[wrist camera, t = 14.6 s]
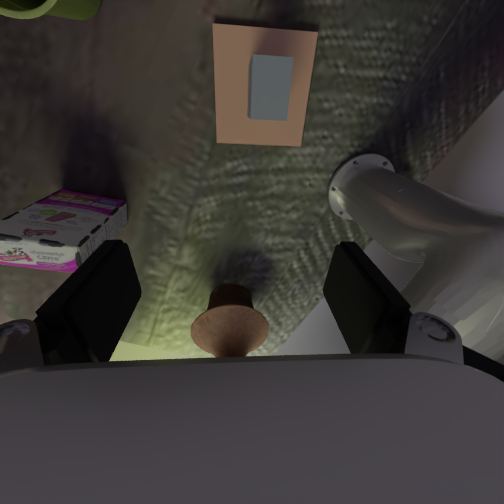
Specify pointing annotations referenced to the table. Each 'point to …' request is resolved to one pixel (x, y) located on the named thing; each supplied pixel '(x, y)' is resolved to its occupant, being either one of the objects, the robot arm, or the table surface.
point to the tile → (236, 82)
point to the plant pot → (50, 8)
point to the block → (269, 87)
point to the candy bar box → (60, 230)
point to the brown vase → (229, 323)
